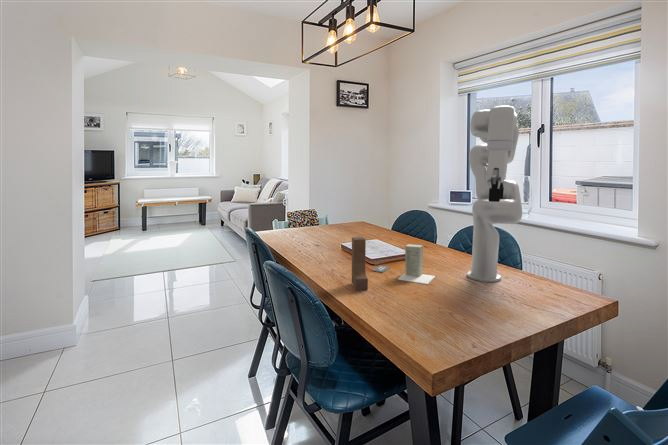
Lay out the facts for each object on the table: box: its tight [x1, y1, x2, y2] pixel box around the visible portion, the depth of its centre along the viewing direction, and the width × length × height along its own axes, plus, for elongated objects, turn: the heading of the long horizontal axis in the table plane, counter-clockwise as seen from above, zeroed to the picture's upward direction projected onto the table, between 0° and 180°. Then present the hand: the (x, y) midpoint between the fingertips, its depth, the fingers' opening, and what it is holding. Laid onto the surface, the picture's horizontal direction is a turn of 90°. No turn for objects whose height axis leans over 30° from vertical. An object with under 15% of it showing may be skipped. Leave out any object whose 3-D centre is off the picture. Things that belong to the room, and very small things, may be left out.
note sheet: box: [397, 273, 436, 285], centre depth 144 cm, size 11×12×1 cm
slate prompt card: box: [371, 265, 391, 274], centre depth 156 cm, size 8×5×1 cm, turn 149°
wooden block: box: [351, 236, 369, 292], centre depth 133 cm, size 9×4×18 cm, turn 7°
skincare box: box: [404, 243, 424, 277], centre depth 147 cm, size 6×4×12 cm
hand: (495, 200), depth 118 cm, fingers open, 9 cm apart
